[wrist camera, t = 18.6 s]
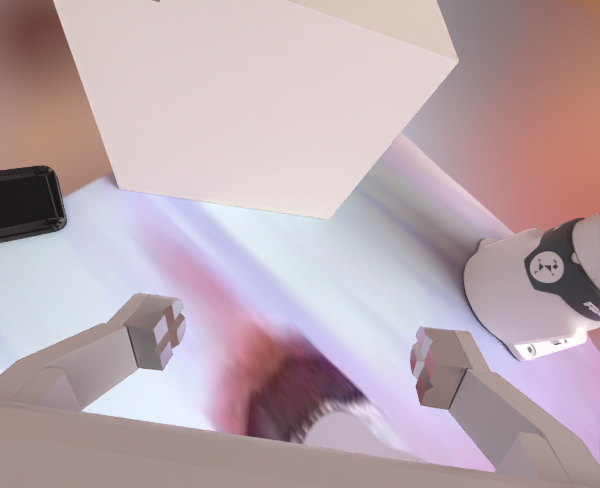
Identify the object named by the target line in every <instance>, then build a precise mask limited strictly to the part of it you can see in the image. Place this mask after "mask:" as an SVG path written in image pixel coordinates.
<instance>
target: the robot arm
mask: <svg viewBox="0 0 600 488" xmlns="http://www.w3.org/2000/svg"><path fill="white" fill-rule="evenodd" d="M464 286H465V291H466V295H467V298H468V300H469V303H470V305H471V307H472V309H473V311H474V313H475V314H476V316H477V317H478V319H479V320H480V321H481V323H482V324H483V325H484V326H485V327H486V328H487V329H488V330H489V331H490V332H491V333H492V334H494V335H495V336H496V337H498V338H499V339H500V340H501V341H503V342H504V343H505V344H506V346H507V347H508V348H509V350H510V351H511V352H512V354H513V355H514V356H515V357H516V358H517V359H518V360H520V361H527V360H531V359H534V358H538V357H541V356H544V355H547V354H550V353H554V352H557V351H560V350H563V349H566V348H570V347H573V346H576V345H579V344H582V343H585V342H586V331H589V330H592V329H596V328H599V327H600V212H599V213H597V214H595V215H593V216H590V217H588V218H577V219H574V220H572V221H567V222H564V223H562V224H560V225H558V226H556V227H555V228H552V229H550V230H548V231H546V232H545V231H543V230H539V229H536V228H531V229H528V230H525V231H523V232H520V233H518V234H515V235H513V236H510V237H507V238H505V239H502V240H500V241H498V240H495V239H492V238H486V239H483V240H482V241H481V242H480V245H479V248H478V251H477V252H476V253H475V254H474V255H473V256H472V257H471V258H470V259H469V260H468V262H467V264H466V266H465V270H464ZM182 309H183V304H182V300H181V299H179V298H173V297H166V296H159V295H150V294H143V293H137V294H135V295H134V296H133V297H132V298H131V299H130V300H129V301H128V302H127V303H126V304H125V305H124V306H123V307H122V308H121V309H120V310H119V311H118V312H117V313H116V314H115V315H114V316H113V317H112V318H111V319H110V320H109V321H108V322H107V323H106V324H104V323H101V324H99V325H97V326H94V327H92V328H90V329H88V330H85V331H83V332H81V333H79V334H76V335H74V336H72V337H70V338H67V339H65V340H63V341H61V342H58V343H56V344H54V345H52V346H49V347H47V348H45V349H43V350H40V351H38V352H36V353H34V354H31V355H29V356H27V357H25V358H22V359H20V360H18V361H16V362H15V363H14V364H13V365H11V366H10V367H9V368H8V369H7V370H6V371H4V372H3V373H2V374H1V375H0V488H600V465H599V464H598V462H597V461H596V460H595V458H594V457H593V455H592V454H591V452H590V451H589V449H588V448H587V446H586V445H585V443H584V442H583V441H582V439H581V438H579V437H578V436H577V435H575V434H574V433H573V432H572V431H570V430H569V429H568V428H567V427H565V426H564V425H563V424H561V423H560V422H559V421H558V420H556V419H555V418H554V417H552V416H551V415H550V414H549V413H547V412H546V411H545V410H543V409H542V408H541V407H540V406H538V405H537V404H536V403H535V402H533V401H532V400H531V399H529V398H528V397H527V396H526V395H524V394H523V393H522V392H520V391H519V390H518V389H517V388H515V387H514V386H513V385H511V384H510V383H509V382H508V381H506V380H505V379H504V378H502V377H501V376H500V375H499V374H497V373H494V372H491V370H490V369H489V367H488V365H487V363H486V361H485V359H484V357H483V356H482V354H481V352H480V350H479V348H478V346H477V345H476V343H475V341H474V339H473V337H472V335H471V334H470V333H469V332H468V331H459V330H446V329H437V328H428V327H420V328H419V329H418V331H417V334H416V337H417V341H418V342H417V343H416V344H414V345H413V347H412V350H411V357H410V363H411V370H412V374H413V375H414V376H415V377H416V378H417V379H418V381H417V384H416V390H417V394H418V397H419V401H420V405H421V406H428V407H434V408H440V409H446V410H449V412H450V414H451V415H452V416H453V417H454V418H455V420H456V421H457V422H458V423H459V425H460V426H461V427H462V428H463V429H464V431H465V432H466V433H467V434H468V435H469V437H470V438H471V439H472V440H473V442H474V443H475V444H476V445H477V446H478V448H479V449H480V450H481V451H482V452H483V454H484V455H485V456H486V457H487V458H488V460H489V461H490V462H491V463H492V465H493V466H494V467H495V468H496V470H495V471H494V473H493V472H486V471H479V470H473V469H466V468H459V467H452V466H446V465H439V464H432V463H425V462H418V461H412V460H405V459H398V458H391V457H385V456H378V455H371V454H364V453H357V452H350V451H343V450H337V449H330V448H323V447H316V446H309V445H303V444H296V443H289V442H283V441H276V440H269V439H262V438H256V437H249V436H242V435H235V434H229V433H222V432H215V431H209V430H202V429H195V428H188V427H181V426H175V425H168V424H161V423H154V422H148V421H141V420H134V419H127V418H121V417H114V416H107V415H100V414H93V413H87V412H83V411H82V409H84V408H85V407H86V406H88V405H89V404H91V403H92V402H93V401H95V400H96V399H98V398H99V397H100V396H102V395H103V394H104V393H106V392H107V391H109V390H110V389H111V388H113V387H114V386H116V385H117V384H118V383H120V382H121V381H122V380H124V379H125V378H127V377H128V376H129V375H131V374H132V373H134V372H135V371H136V370H138V368H143V369H153V370H162V371H163V370H164V368H165V366H166V365H167V363H168V362H169V360H170V358H171V357H172V355H173V353H172V348H174V347H176V346H177V345H179V344H180V342H181V340H182V338H183V335H184V332H185V326H186V322H185V317H184V316H183V315H182V314H181V313H180V312H181V310H182Z"/></svg>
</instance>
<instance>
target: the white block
mask: <svg viewBox="0 0 600 488" xmlns="http://www.w3.org/2000/svg"><path fill="white" fill-rule="evenodd" d="M53 1H54V4H55V7H56V10H57V13H58V16H59V18H60V21H61V24H62V27H63V30H64V33H65V36H66V38H67V41H68V44H69V47H70V50H71V53H72V56H73V58H74V61H75V64H76V67H77V70H78V73H79V76H80V78H81V81H82V84H83V87H84V90H85V93H86V95H87V98H88V101H89V104H90V107H91V109H92V112H93V115H94V118H95V121H96V124H97V127H98V129H99V133H100V135H101V138H102V141H103V144H104V147H105V149H106V152H107V155H108V158H109V161H110V164H111V167H112V170H113V172H114V175H115V178H116V181H117V184H118V187H119V189H120V190H127V191H133V192H140V193H147V194H154V195H161V196H168V197H175V198H182V199H189V200H195V201H202V202H209V203H216V204H223V205H230V206H237V207H244V208H251V209H257V210H264V211H271V212H278V213H285V214H292V215H299V216H306V217H313V218H319V219H326V220H329V219H330V218H331V217H332V215H333V214H334V213H335V212H336V210H337V209H338V208H339V207H340V206H341V204H342V203H343V202H344V201H345V200H346V198H347V197H348V196H349V195H350V193H351V192H352V191H353V190H354V189H355V187H356V186H357V185H358V184H359V182H360V181H361V180H362V179H363V178H364V176H365V175H366V174H367V173H368V171H369V170H370V169H371V168H372V167H373V165H374V164H375V163H376V162H377V161H378V159H379V158H380V157H381V156H382V154H383V153H384V152H385V151H386V150H387V148H388V147H389V146H390V145H391V143H392V142H393V141H394V140H395V139H396V137H397V136H398V135H399V134H400V133H401V131H402V130H403V129H404V128H405V126H406V125H407V124H408V123H409V122H410V120H411V119H412V118H413V117H414V115H415V114H416V113H417V112H418V110H419V109H420V108H421V107H422V106H423V104H424V103H425V102H426V101H427V100H428V98H429V97H430V96H431V95H432V94H433V92H434V91H435V90H436V89H437V87H438V86H439V85H440V84H441V82H442V81H443V80H444V79H445V77H446V76H447V75H448V74H449V73H450V72H451V70H452V69H453V68H454V67H455V65H456V64H457V63H458V62H459V60H458V58H457V55H456V52H455V49H454V47H453V44H452V41H451V39H450V36H449V33H448V30H447V28H446V25H445V22H444V20H443V17H442V14H441V12H440V9H439V6H438V3H437V1H436V0H160V2H156V1H153V0H53Z"/></svg>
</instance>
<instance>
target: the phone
mask: <svg viewBox="0 0 600 488" xmlns="http://www.w3.org/2000/svg"><path fill="white" fill-rule="evenodd" d="M62 199H63V198H62V193H61V189H60V185H59V181H58V177H57V176H56V174H55V172H54V171H53V170H52V169H51V168H50V167H47V166H32V167H25V168H17V169H8V170H0V243H2V242H7V241H12V240H17V239H22V238H27V237H31V236H36V235H41V234H46V233H51V232H56V231H59V230H61V229H63V228H64V227H65V225H66V223H67V218H66V214H65V209H64V205H63V201H62Z"/></svg>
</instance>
